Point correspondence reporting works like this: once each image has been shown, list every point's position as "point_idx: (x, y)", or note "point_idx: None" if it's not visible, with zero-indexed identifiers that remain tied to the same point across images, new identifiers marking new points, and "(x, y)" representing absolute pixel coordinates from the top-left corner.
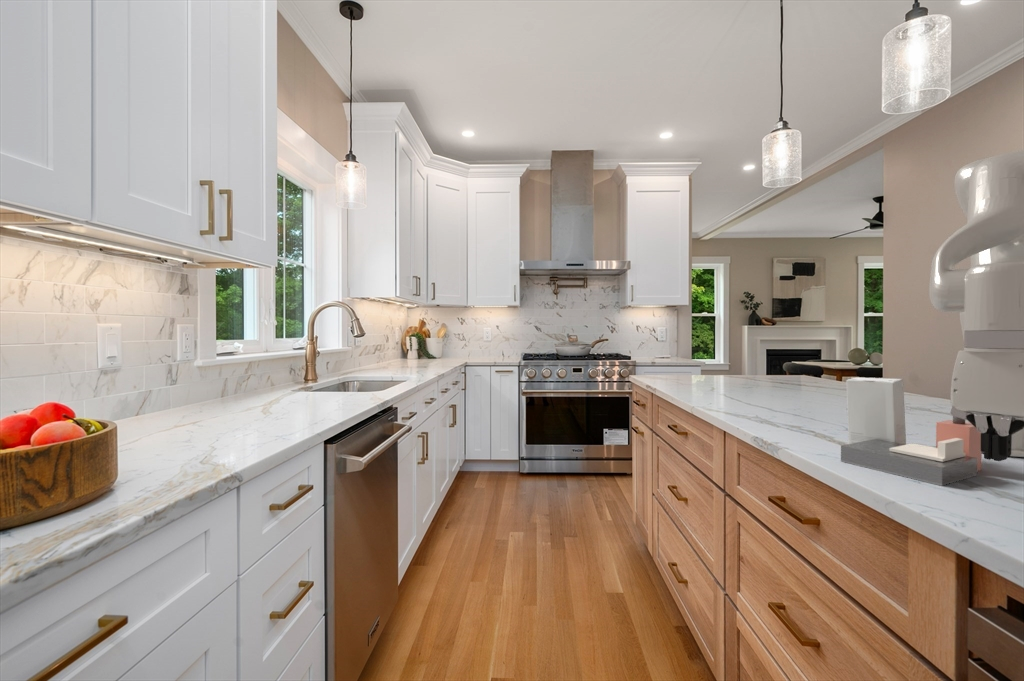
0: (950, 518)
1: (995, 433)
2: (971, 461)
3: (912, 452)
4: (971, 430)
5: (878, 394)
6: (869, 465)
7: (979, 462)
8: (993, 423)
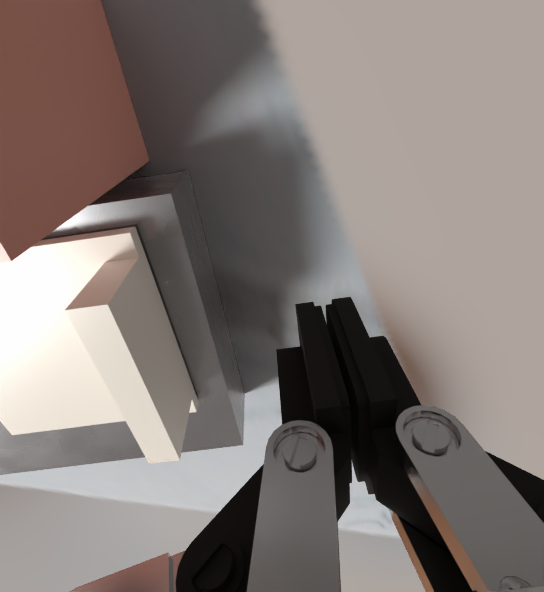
0: (366, 514)
1: (341, 434)
2: (191, 253)
3: (91, 422)
4: (8, 197)
5: None
6: None
7: (87, 14)
8: (333, 493)
